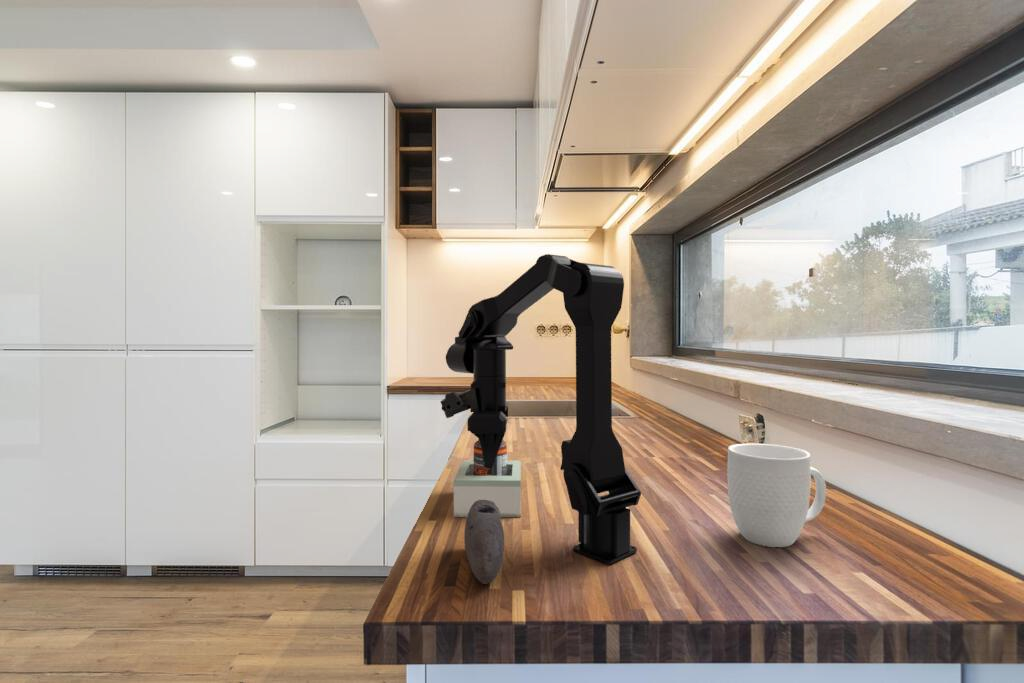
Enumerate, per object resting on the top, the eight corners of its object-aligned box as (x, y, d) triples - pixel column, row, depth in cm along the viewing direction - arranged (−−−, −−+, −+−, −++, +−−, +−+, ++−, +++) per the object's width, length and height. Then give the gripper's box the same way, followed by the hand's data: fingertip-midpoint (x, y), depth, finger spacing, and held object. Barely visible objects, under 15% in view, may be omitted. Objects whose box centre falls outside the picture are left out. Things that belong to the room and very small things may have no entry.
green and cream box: (520, 492, 103) (520, 460, 103) (520, 517, 89) (520, 480, 89) (462, 491, 103) (462, 460, 103) (453, 516, 89) (453, 480, 89)
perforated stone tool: (506, 596, 63) (506, 535, 63) (460, 596, 62) (460, 536, 62) (503, 545, 78) (503, 496, 77) (466, 545, 77) (466, 497, 77)
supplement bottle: (466, 495, 95) (466, 430, 95) (484, 486, 100) (484, 425, 100) (496, 499, 92) (496, 433, 92) (513, 490, 97) (512, 427, 97)
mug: (796, 522, 87) (797, 440, 87) (852, 548, 76) (853, 455, 76) (712, 528, 84) (712, 444, 84) (758, 557, 73) (759, 460, 73)
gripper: (450, 371, 105) (451, 452, 106) (435, 379, 87) (436, 477, 87) (508, 371, 105) (508, 452, 105) (505, 379, 87) (506, 477, 87)
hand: (490, 463), depth 96 cm, fingers closed on supplement bottle, 6 cm apart
